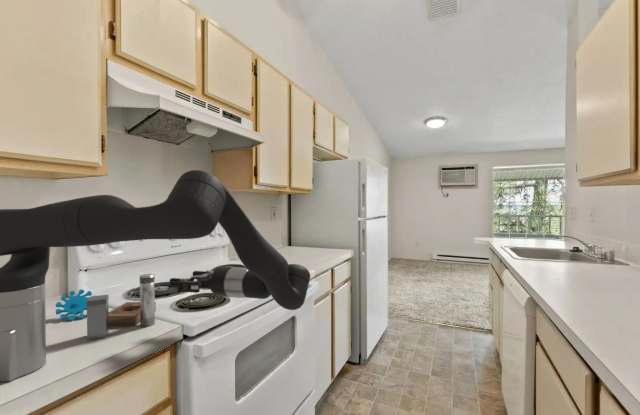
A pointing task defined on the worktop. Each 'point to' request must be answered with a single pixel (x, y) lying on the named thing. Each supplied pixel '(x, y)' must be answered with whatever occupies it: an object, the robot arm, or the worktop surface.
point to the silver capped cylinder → (147, 300)
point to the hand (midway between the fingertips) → (182, 278)
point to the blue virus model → (73, 305)
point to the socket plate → (125, 315)
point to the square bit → (97, 317)
